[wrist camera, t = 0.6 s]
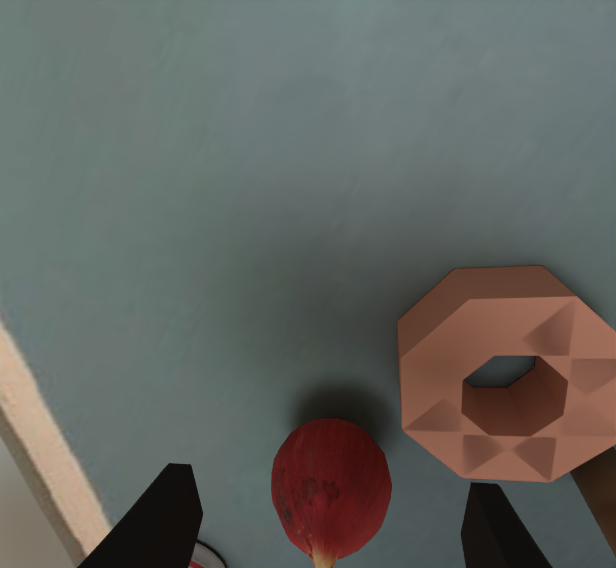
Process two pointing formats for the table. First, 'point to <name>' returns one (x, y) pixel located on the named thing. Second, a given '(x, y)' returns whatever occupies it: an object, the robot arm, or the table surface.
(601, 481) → the case
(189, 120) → the table surface
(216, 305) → the table surface
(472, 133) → the table surface
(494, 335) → the orange octagonal ring
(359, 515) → the onion
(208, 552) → the pill bottle
